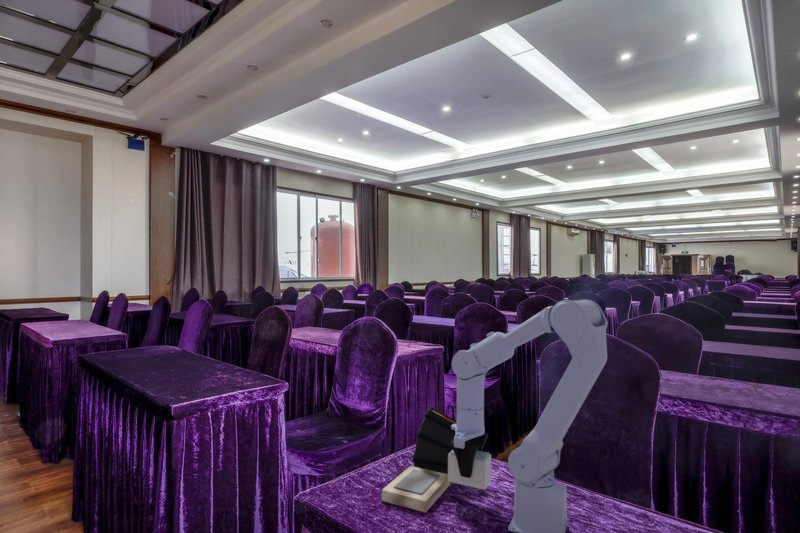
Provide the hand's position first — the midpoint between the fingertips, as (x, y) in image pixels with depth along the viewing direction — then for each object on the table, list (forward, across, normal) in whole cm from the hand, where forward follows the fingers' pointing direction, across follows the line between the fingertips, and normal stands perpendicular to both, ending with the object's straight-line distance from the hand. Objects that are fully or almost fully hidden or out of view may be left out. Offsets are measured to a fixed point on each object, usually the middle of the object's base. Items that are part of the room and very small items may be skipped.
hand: (469, 472), depth 94 cm
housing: (+2, 0, 0) cm, 2 cm away
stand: (+6, +2, -11) cm, 13 cm away
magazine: (+6, -11, -11) cm, 16 cm away
